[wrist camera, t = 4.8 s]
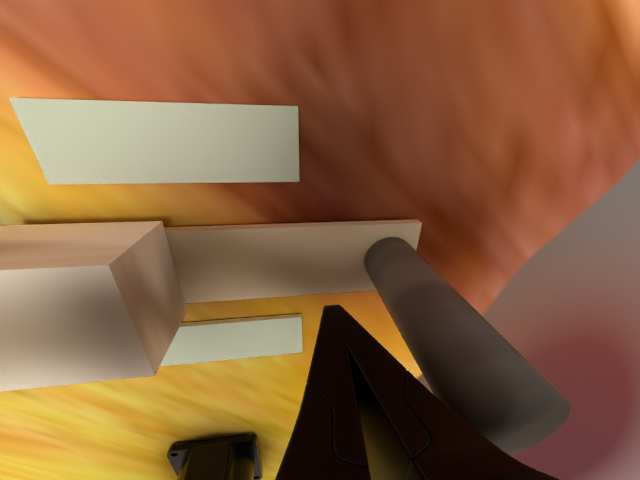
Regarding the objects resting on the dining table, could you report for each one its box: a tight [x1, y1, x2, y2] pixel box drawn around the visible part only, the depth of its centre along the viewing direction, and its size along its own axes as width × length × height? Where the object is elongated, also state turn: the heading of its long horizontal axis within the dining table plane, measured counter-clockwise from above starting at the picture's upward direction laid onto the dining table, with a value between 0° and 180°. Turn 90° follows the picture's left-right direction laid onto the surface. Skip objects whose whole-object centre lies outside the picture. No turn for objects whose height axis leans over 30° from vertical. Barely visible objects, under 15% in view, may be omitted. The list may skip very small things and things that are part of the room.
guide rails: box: [9, 98, 302, 366], centre depth 12 cm, size 14×10×1 cm
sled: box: [0, 219, 570, 455], centre depth 9 cm, size 5×18×8 cm, turn 89°
